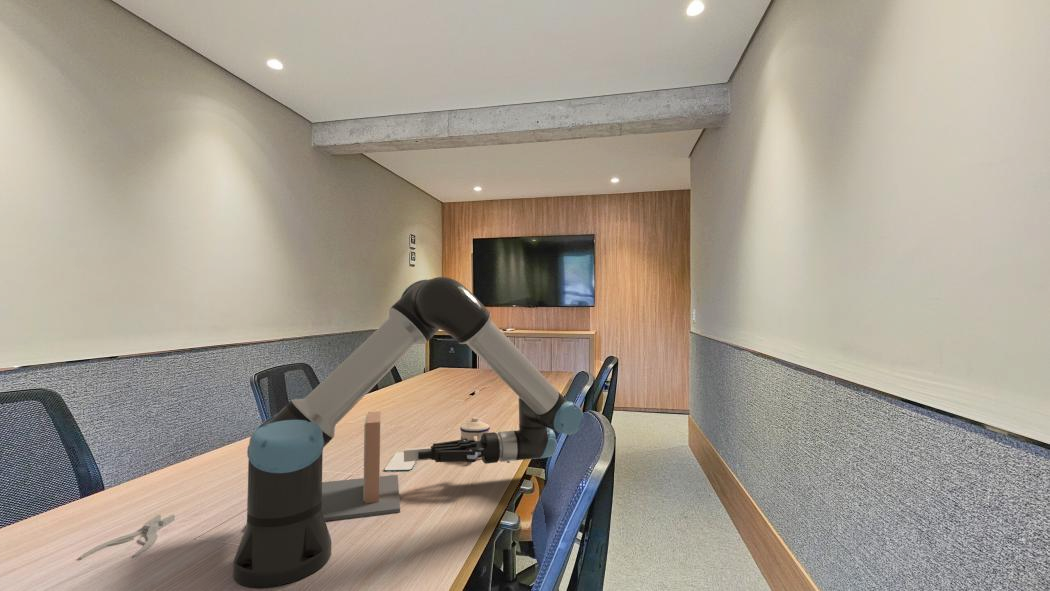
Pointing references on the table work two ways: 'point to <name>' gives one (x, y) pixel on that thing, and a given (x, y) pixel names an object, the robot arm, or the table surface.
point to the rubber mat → (358, 498)
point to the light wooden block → (372, 457)
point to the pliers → (148, 528)
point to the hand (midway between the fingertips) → (404, 455)
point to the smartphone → (399, 463)
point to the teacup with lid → (474, 430)
